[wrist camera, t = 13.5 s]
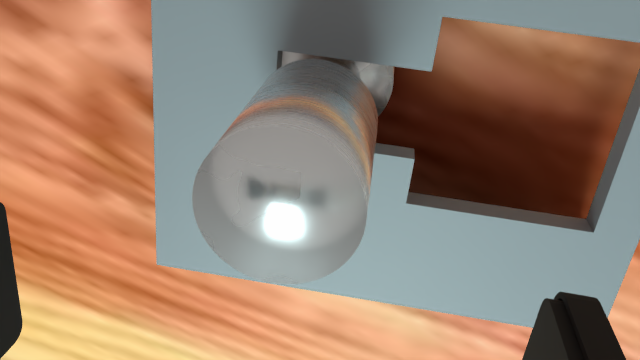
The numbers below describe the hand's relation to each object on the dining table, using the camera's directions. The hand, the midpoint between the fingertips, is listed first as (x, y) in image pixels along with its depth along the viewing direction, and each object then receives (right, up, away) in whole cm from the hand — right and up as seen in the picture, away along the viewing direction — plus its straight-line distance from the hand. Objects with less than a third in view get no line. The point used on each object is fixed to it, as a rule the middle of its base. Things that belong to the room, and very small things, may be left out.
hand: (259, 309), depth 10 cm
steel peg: (+2, +7, +15) cm, 16 cm away
